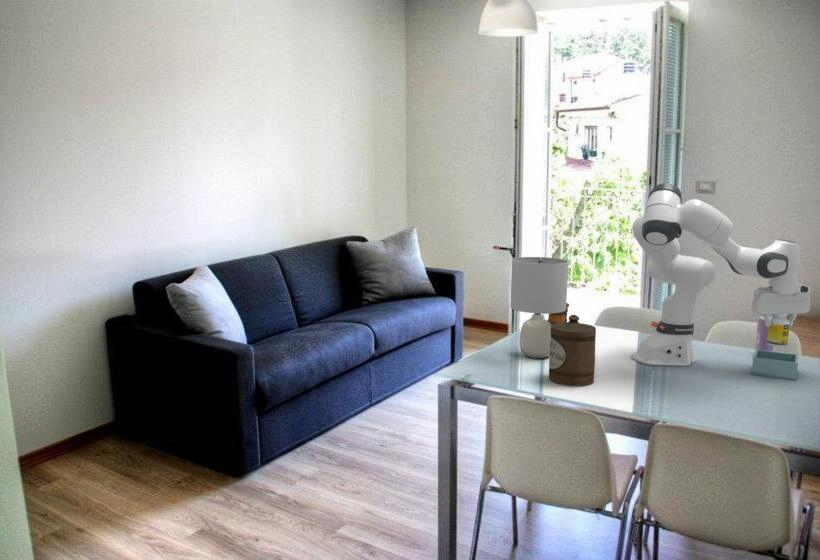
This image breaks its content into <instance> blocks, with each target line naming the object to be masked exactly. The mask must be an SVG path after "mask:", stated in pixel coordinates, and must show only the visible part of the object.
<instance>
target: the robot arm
mask: <svg viewBox="0 0 820 560" xmlns="http://www.w3.org/2000/svg"><path fill="white" fill-rule="evenodd" d="M682 200H683V199H682V191H681V190H680V188H679V187H678V186H677V185H674V184H671V183H664V182H663V183H658V184H657V185H655V186H654V187H653V188H652V189H651V191H650V193H649V195H648V200H647V203H646V206H645V208H644V209H645V210H644V214H642V215H639V216H638V217H637V218H636V219H635V220H634V222H633V224H632V226H631V227H632V228H631V230H632V234H633V235H634V238H635V239H636V242H637V243H638V245H639V246H640V247H641V249H642V250H643V251H644V253H646V255H647V257H649V260H648V263H647V272H648V273H647V274H648V276H649V277H650V278H651V279H653V280H655V281H657V282H660V283H662V284H671V285H674V286H675V290H674V292H673V294H670V295H668V296H666V297H665V298H664V299H663V301H662V304H661V318H660V320H659V322H656V321H653V320H652V322H651V323H650V325H651V327H653V328H656V329H655V331H654V332H652V333H651V334H649V335H648V336H646V337H645V338H643V339H642V340H641V341H640V342H639V345H638V349H637V352H633V353H631V359H633V360H634V361H637V362H638V363H641V364H644V365H648V366H672V367H673V366H678V367H680V366H685V367H689V366H691V364H693V363H695V362H696V361H695V356H694V350H693V349H694V348H693V347H694V345H693V337H694V331H695V327H694V326H695V323H694V315H695V306H696V303H697V300H698V298H699V295H700V294H701V293H702V292H703V291H704V290H705V289H706V288H708V287H710V286H711V285H712V284H713V283H714V281H715V278H716V271H717V270H716V268H715V264H713V263H714V262H712V261H711V260H710V261H709V260H707V259H705V258H702V257H696V256H689V255H683V254H680V251H681V244H680V242H679V241H678V238H680V237H681V235H682V234H683V231H685V232H688V233H690V234H691V235H692V236H694V237H695V238H696V239H698V240H699V241H701V242H702V243H703V244H705V245H708V246H709V247H710V248H712V250H714V251H715V252H716V253H717V254H719V255H720V256H722V258H724V260H726V262H727V264H728V265H729V268H730V269H731V270H732V272H734V274H737V275H741V276H742V275H743V276H750V277H753V278H754V277H755V278H760V279H766V280H767V279H768V284H767V286H759V287H758V288H757V289H755V290H754V294H753V298H752V304H751V311H752V313H753V314H756V315H762V316H763V317H764V319H765V326H767V327H771V326H772V323H773V322H772V321H770V319H769V317H772V314H779V313H788V318H787V320H788V321H789V322H790V325H789V327H792V326H793V325H794V321H795V319H796V318H797V316H798V314H807V313H809V311H810V309H811V294H810V292H811V290H812V289H811V287H810V286H809V285H805V284H802V283H801V282H798V281H799V277H798V276H799V275H798V271H799V268H800V263H801V261H800V259H801V250H800V245H799V244H798V243H797V242H796V241H792V240H786V239H782V238H781V239H780V238H779V239H775V240H774V242H773V243H772V244H770V245H769V246H767V247H766V246H765V247H764V248H762V249H761V248H755V247H751V246H745V245H740V244H738V243H736V242H735V240H733V239H732V235H733V233H734V225H733V224H734V223H733V222H732V220H731V219H729V217H727V216H726V215H725V214H724V213H722V212H721V211H720V210H719V209H717V208H715V207H714V206H712V205H710V204H709V203H707V202H704V201H703V200H700V199H696V198H693V199H690V200H689V199H688V200H687V201H685V202H684V203H683V204H682Z"/></svg>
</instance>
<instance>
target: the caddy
mask: <svg viewBox="0 0 820 560" xmlns="http://www.w3.org/2000/svg"><path fill="white" fill-rule="evenodd" d="M753 354H754V355H753V357H752V366H751V375H753V376H758V377H760V376H761V377H766V378H767V377H768V378H774V379H780V380H781V379H783V380H788V381H789V380H790V381H797V374H798V364H799V363H798V362H799V354H797V353H789V352H779V351H774V350H773V351H765V350H755V349H754V353H753Z"/></svg>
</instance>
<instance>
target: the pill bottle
mask: <svg viewBox="0 0 820 560" xmlns="http://www.w3.org/2000/svg"><path fill="white" fill-rule="evenodd" d="M771 317H772V318H771V319H770V321H772V322H773V323H772V326H771V327H768V336H767V343H768V344H769V345H772V346H773V347H779V348H781V347H787V346H788V344H789V333H790V326H789V325H790V322H789V321H788V317H789V314H788V313H779V314H771Z"/></svg>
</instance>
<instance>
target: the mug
mask: <svg viewBox="0 0 820 560" xmlns="http://www.w3.org/2000/svg"><path fill="white" fill-rule="evenodd" d="M569 306H570V304H569V303H568V302H566V311H564V312H560V313H551V314H548V317H547V321H548V322H550V323H551V325H552V324H555V323H564V322H568V318H567V317H568V311H569Z"/></svg>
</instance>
